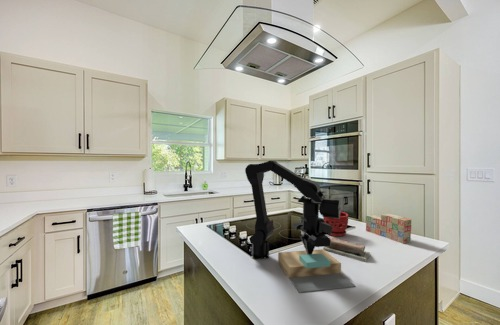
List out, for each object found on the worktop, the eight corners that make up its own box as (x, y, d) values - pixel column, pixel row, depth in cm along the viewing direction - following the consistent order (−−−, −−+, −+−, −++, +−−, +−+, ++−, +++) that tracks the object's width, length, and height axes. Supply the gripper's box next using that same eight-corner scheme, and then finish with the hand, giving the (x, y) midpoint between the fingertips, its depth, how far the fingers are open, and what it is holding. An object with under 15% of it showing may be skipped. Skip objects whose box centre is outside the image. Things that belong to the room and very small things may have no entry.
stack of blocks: (365, 230, 128) (366, 210, 128) (372, 229, 131) (373, 209, 131) (403, 244, 109) (404, 220, 109) (410, 242, 112) (411, 218, 111)
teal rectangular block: (306, 268, 74) (306, 262, 74) (299, 260, 80) (299, 255, 80) (330, 266, 76) (330, 260, 76) (321, 258, 82) (321, 253, 82)
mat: (299, 292, 67) (299, 291, 67) (289, 278, 75) (289, 277, 75) (355, 286, 71) (355, 285, 71) (340, 273, 79) (340, 273, 79)
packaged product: (322, 240, 100) (329, 234, 107) (322, 250, 100) (329, 244, 108) (366, 251, 88) (370, 244, 96) (365, 263, 88) (370, 255, 96)
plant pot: (318, 230, 127) (319, 210, 127) (339, 229, 129) (340, 210, 129) (329, 238, 114) (330, 216, 114) (352, 238, 116) (353, 215, 116)
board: (289, 278, 75) (289, 267, 75) (278, 262, 87) (278, 252, 87) (340, 273, 79) (341, 263, 79) (323, 258, 91) (323, 249, 90)
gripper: (345, 221, 74) (343, 265, 74) (317, 208, 92) (316, 244, 93) (315, 222, 72) (314, 268, 72) (293, 209, 90) (292, 246, 90)
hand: (309, 255), depth 82 cm, fingers closed
